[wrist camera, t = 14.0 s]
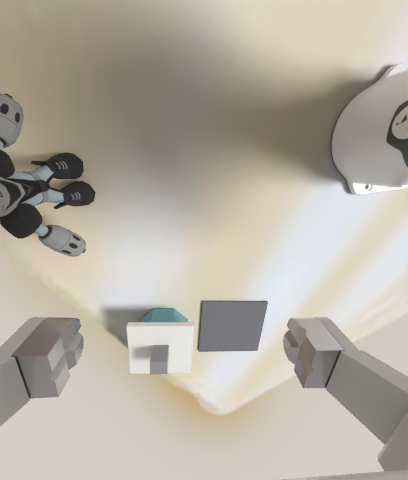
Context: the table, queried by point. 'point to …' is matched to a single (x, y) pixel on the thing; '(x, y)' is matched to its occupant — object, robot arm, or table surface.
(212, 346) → the mat
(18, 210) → the robot
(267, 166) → the table surface
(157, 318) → the bowl
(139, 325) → the cover sheet
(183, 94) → the table surface
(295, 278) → the table surface
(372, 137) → the robot arm
